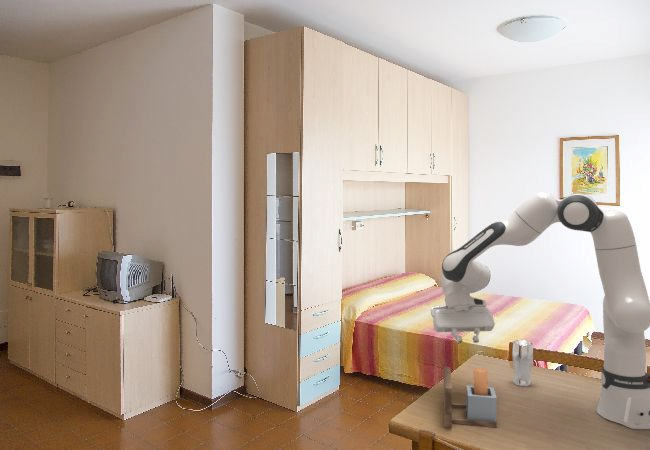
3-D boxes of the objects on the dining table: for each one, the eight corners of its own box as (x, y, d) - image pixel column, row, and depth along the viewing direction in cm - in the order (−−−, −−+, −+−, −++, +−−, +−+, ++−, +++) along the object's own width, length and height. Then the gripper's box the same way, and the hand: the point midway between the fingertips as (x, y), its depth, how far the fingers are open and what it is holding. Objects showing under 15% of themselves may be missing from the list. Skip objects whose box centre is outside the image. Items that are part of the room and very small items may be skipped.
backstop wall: (491, 406, 163) (491, 370, 162) (498, 432, 145) (498, 392, 144) (443, 402, 166) (444, 366, 165) (444, 427, 149) (445, 388, 148)
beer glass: (514, 378, 186) (515, 338, 185) (534, 382, 182) (535, 341, 181) (509, 384, 181) (510, 343, 180) (529, 388, 177) (530, 346, 176)
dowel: (487, 412, 156) (486, 368, 155) (488, 417, 153) (487, 373, 152) (473, 411, 157) (473, 367, 156) (474, 417, 153) (474, 372, 152)
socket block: (493, 412, 158) (493, 387, 158) (496, 423, 150) (496, 398, 150) (466, 409, 160) (466, 385, 159) (467, 421, 152) (468, 395, 151)
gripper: (431, 301, 172) (439, 338, 163) (490, 300, 173) (500, 336, 164) (428, 311, 177) (435, 347, 168) (485, 310, 178) (495, 345, 169)
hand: (468, 342), depth 166 cm, fingers open, 4 cm apart
